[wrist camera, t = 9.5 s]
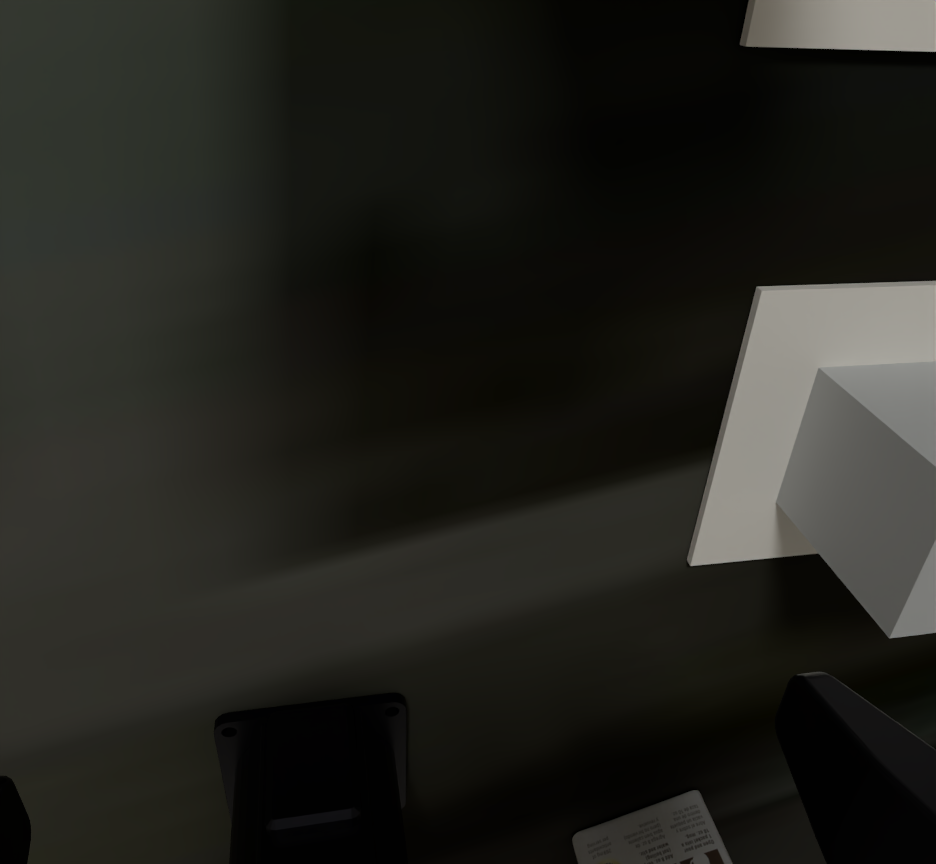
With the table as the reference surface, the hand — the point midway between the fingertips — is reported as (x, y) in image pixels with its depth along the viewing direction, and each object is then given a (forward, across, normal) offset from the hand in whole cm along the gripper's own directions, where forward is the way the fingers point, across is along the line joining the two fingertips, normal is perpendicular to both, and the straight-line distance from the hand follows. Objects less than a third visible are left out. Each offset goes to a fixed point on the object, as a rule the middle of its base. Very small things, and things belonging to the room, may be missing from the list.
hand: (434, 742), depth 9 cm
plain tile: (+13, -16, +5) cm, 21 cm away
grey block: (+13, -16, +5) cm, 21 cm away
